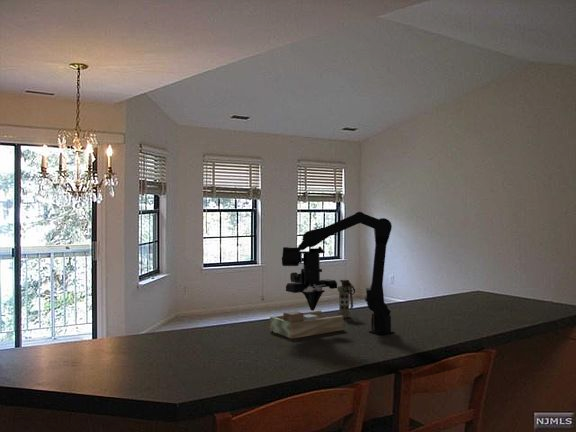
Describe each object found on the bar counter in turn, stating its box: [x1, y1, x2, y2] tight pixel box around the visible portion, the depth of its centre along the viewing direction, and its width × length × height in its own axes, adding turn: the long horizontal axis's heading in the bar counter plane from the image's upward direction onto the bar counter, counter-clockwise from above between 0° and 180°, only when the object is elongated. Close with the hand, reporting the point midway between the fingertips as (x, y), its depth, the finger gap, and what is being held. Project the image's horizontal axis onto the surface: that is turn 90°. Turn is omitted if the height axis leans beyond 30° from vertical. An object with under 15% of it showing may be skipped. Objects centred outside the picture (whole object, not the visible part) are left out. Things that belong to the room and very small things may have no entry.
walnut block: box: [282, 310, 304, 323], centre depth 175 cm, size 5×5×5 cm
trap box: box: [269, 309, 344, 339], centre depth 181 cm, size 14×22×5 cm, turn 123°
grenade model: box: [337, 279, 356, 319], centre depth 204 cm, size 6×7×15 cm
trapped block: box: [304, 314, 318, 321], centre depth 186 cm, size 4×4×4 cm
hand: (312, 310), depth 179 cm, fingers closed
